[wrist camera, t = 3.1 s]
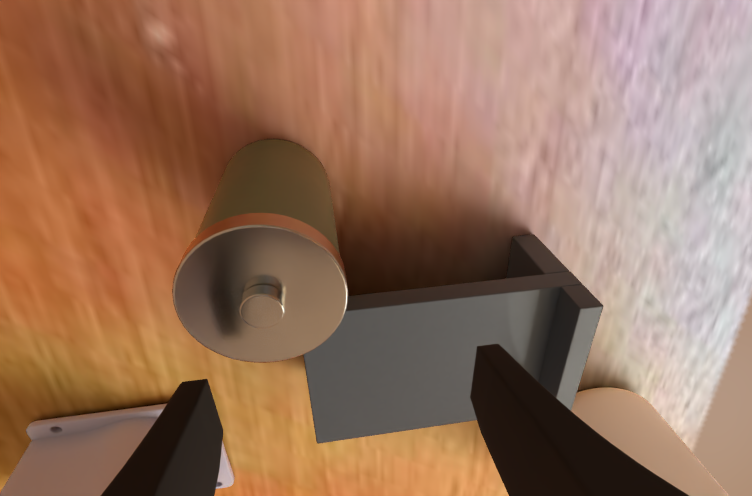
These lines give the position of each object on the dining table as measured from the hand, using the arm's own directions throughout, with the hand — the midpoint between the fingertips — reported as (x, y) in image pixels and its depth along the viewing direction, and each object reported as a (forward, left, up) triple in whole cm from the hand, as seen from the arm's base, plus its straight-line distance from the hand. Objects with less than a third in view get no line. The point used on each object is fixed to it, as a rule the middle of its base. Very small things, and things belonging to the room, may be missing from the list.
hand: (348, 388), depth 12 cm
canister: (-2, +2, -10) cm, 10 cm away
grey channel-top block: (+4, -6, -10) cm, 12 cm away
